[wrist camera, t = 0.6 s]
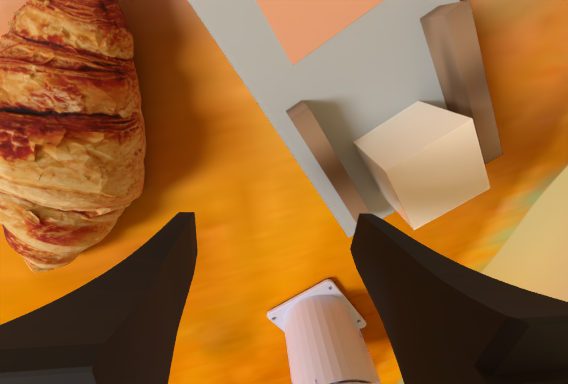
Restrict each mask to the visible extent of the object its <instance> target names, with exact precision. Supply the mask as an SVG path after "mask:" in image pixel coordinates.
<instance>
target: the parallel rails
mask: <svg viewBox="0 0 568 384" xmlns="http://www.w3.org/2000/svg"><path fill="white" fill-rule="evenodd" d="M420 22H421V25H422V29H423V32H424V35H425V38H426V42H427V45H428V48H429V51H430V55H431V58H432V61H433V64H434V68H435V71H436V74H437V77H438V81H439V84H440V87H441V90H442V94H443V97H444V100H445V103H446V107H447V110H448V111H451V112H454V113H457V114H460V115H463V116H466V117H469V118H472V119H473V123H474V126H475V130H476V134H477V138H478V142H479V145H480V149H481V153H482V157H483V161H484V163H485V164H486V163H488V162H490V161H492V160H493V159H495V158H497V157H499V156H500V155H502V154H503V152H502V148H501V143H500V139H499V134H498V129H497V125H496V120H495V115H494V111H493V106H492V101H491V97H490V92H489V88H488V83H487V78H486V74H485V69H484V64H483V60H482V55H481V50H480V46H479V41H478V37H477V32H476V27H475V23H474V18H473V13H472V9H471V4H470V0H465V1H460V2H455V3H450V4H445V5H440V6H437V7H436V8H434V9H433V10H432V11H430V12H429V13H427V14H426V15H424V16H423V17H421V18H420ZM286 113H287V114H288V116H289V117H290V119H291V121H292V122H293V124H294V125H295V127H296V129H297V130H298V132H299V133H300V135H301V137H302V138H303V140H304V141H305V143H306V144H307V146H308V148H309V149H310V151H311V152H312V154H313V155H314V157H315V159H316V160H317V162H318V163H319V165H320V167H321V168H322V170H323V171H324V173H325V174H326V176H327V178H328V179H329V181H330V182H331V184H332V186H333V187H334V189H335V190H336V192H337V193H338V195H339V197H340V198H341V200H342V201H343V203H344V204H345V206H346V208H347V209H348V211H349V212H350V214H351V216H352V217H353V219H354V220H355V222H356V223H357V220H358V216H359V213H370V211H369V210H368V208H367V206H366V205H365V203H364V201H363V199H362V198H361V196H360V194H359V193H358V191H357V189H356V187H355V186H354V184H353V182H352V181H351V179H350V177H349V175H348V174H347V172H346V170H345V168H344V167H343V165H342V163H341V162H340V160H339V158H338V156H337V155H336V153H335V151H334V150H333V148H332V146H331V144H330V143H329V141H328V139H327V138H326V136H325V134H324V132H323V131H322V129H321V127H320V125H319V124H318V122H317V120H316V119H315V117H314V115H313V113H312V112H311V110H310V108H309V107H308V106H307V105H306V104H305V103H304V102H303V101H302V100H301V101H299V102H298V103H296V104H295V105H294V106H292V107H291V108H289V109H288V110H286Z"/></svg>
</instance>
